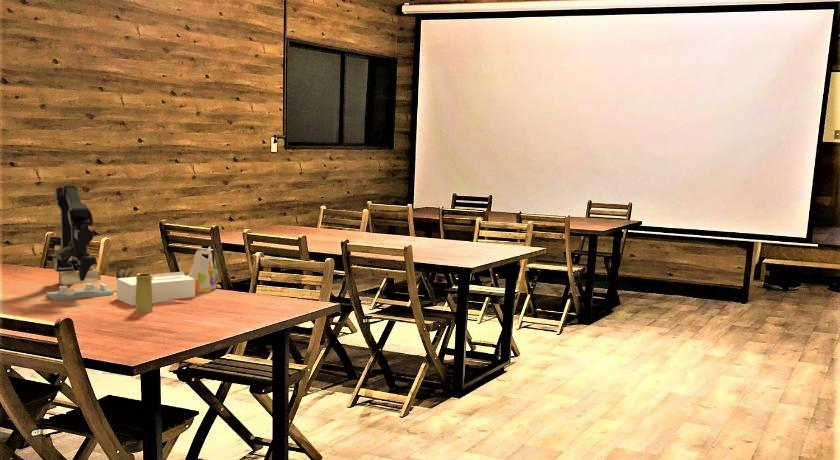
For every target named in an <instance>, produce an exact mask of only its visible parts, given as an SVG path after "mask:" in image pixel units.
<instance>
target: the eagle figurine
mask: <svg viewBox="0 0 840 460" xmlns="http://www.w3.org/2000/svg"><path fill="white" fill-rule="evenodd" d="M134 269H135V267H133V268H132V269H131V270H130V271H128V268H126V267H125V266H120V267H118V268H117V269H116V271H115V273H116V274H115V275H116V279H115V280H116V281H117V278H128V277H130V276H131V275H132V273H133V271H134ZM127 271H128V272H127ZM126 272H127V274H126ZM115 287H117V284H116V286H115Z"/></svg>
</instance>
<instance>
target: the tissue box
mask: <svg viewBox="0 0 840 460" xmlns="http://www.w3.org/2000/svg"><path fill="white" fill-rule="evenodd" d="M151 275H152V304H159V303H158V302H161V303H167V302H166V301H171V302H174V301H173V300H179V299H184V298H185V299H186V298H195V297H196V292H195V279H193V278H191V277H188V276H187V275H185V272H184V271H177V272H175V271H174V272H167V273H157V274H151ZM116 285H117V286H116V300H117V301H120V302H123V303H124V304H126V305H130V306H136V276H131V277H130V276H129V277H128V278H117V280H116Z"/></svg>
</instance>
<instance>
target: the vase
mask: <svg viewBox="0 0 840 460" xmlns="http://www.w3.org/2000/svg"><path fill="white" fill-rule="evenodd" d="M152 275H153V274H151V273H144V272H143V273H138V274H136V276H135V277H136V305H134V308H135V313H138V312H142V313H141V314H145V313H144V312H148V313H152V312H153V303H152ZM151 311H152V312H151Z"/></svg>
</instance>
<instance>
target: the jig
mask: <svg viewBox="0 0 840 460" xmlns="http://www.w3.org/2000/svg"><path fill="white" fill-rule="evenodd" d="M45 295H46V296H45V297H46V298H49V299H52V300H53V301H63V300H65V301H66V300H73V299H74V300H75V299H85V298H94V297H104V296H105V297H106V296H113V295H114V290H112V289H109V288H108V284H105V283H102V282H100V283H99V284H98V285H97V286H94V283H93V282H91V283H85V288H76V289H74V288H68V285H60V286H59V290H58V291H57V290H56V291H45Z"/></svg>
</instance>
